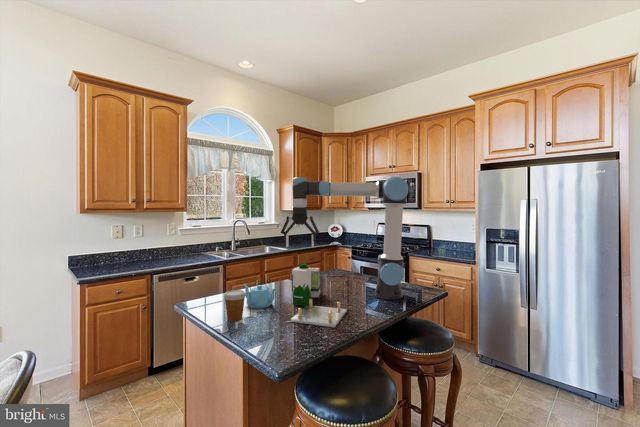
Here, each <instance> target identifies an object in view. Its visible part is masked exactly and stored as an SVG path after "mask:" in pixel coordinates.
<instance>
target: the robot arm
mask: <svg viewBox="0 0 640 427" xmlns="http://www.w3.org/2000/svg"><path fill="white" fill-rule="evenodd" d="M291 189H292V215H291V216H289V215H288V216H286V219H285V222H284V225H283V227H282V228H281V230H280V234H283V241H285V247H286V248H289V246H290V245H289V243H290V242H289V241H290V240H289V237H290V236H289V234H288V233H290V231H291V230H292V229H293V227H294V226H295V225H297V226H299V225H302V226H303V225H304V226H305V227H306V228H307V229H308V230H309V231H310V232H311V233H312V234H311V248H314V246H315V241H316V240H317V238H316V236H317V235H319V234H320V231H319V229H318V226H317V224H316V222H315V221H314V217H313V215H311V216H308V208H307V207H308V206H307V205H308V203H307V202H308V199H307V198H308V197H309V196H317V197H375V198H377V199H382V205H383V206H384V207H385V213H384V214H385V215H384V234H383V236H384V237H383V251H382V252H383V253H382V254H379V255H378V256H377V264H378V265H377V283H376V286H375V289H374V296H375V297H376V298H379V299H381V300H389V301H391V300H392V301H394V300H400V299H402V298H403V290H402V287H401V283H402V281H403V280H404V277H405V270H404V257H403V255H402V254H401V252H402V237H403V236H402V234H403V214H404V207H405V206H406V205H407V198H408V197H407V196H408V194H409V185H408V183H407V181H406V180H405V179H404V178H402V177H400V176H392V177H389V178H387V179H385V180H377V181H375V182H329V181H327V180H313V181H312V180H310V181H309V180H307V177H302V176H301V177H297V176H296V177H293V178H292V187H291ZM291 220H292V223H291V224H290V226H289V227H288V228H287V226H288V224H289V223H290V221H291ZM307 221H310V223H311V225H312V227H311V225H310V224H309V223H308V222H307Z"/></svg>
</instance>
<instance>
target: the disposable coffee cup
mask: <svg viewBox="0 0 640 427" xmlns="http://www.w3.org/2000/svg"><path fill="white" fill-rule="evenodd" d="M223 298H224V302H225V309H226V310H225V311H226V316H227V321H228V320H230V321H229V322H231V321H235V322H239V321H238V320H240V321H242V320H243V315H244V314H243V313H244V307H245V298H246V294H245V290H241V289H233V290H232V289H231V290H227V291H225V292H224V295H223ZM241 319H242V320H241Z"/></svg>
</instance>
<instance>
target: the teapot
mask: <svg viewBox="0 0 640 427" xmlns="http://www.w3.org/2000/svg"><path fill="white" fill-rule="evenodd" d="M243 286H244V289H245V290H244V292H245V294H246V296H245V298H246V302H245V303H246V305H247V306H248V307H249V308H250V309H256V310H257V309H259V310H260V309H265V308H269V307H270V306H271V305H272V304H273V302H274V299H275V292H276V290H277V289H278V288H277V287H275V288H272V290H271V292H270V289H269V286H265V285H264V286H263V285H262V284H258V285H257V286H256V287H255V286H254V287H253V288H251V290H249V286H248V285H247V284H245V283H243Z"/></svg>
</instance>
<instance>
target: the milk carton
mask: <svg viewBox="0 0 640 427" xmlns="http://www.w3.org/2000/svg"><path fill="white" fill-rule="evenodd" d="M311 268H312V267H308V263H306V262H305V263H299V266H297V267H294V268H293V269H292V270H291V271H292V274H293V297H292V305H295V306H302V307H303V306H304V307H305V306H307V305H309V299H312V297H311ZM292 274H291V275H292Z"/></svg>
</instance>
